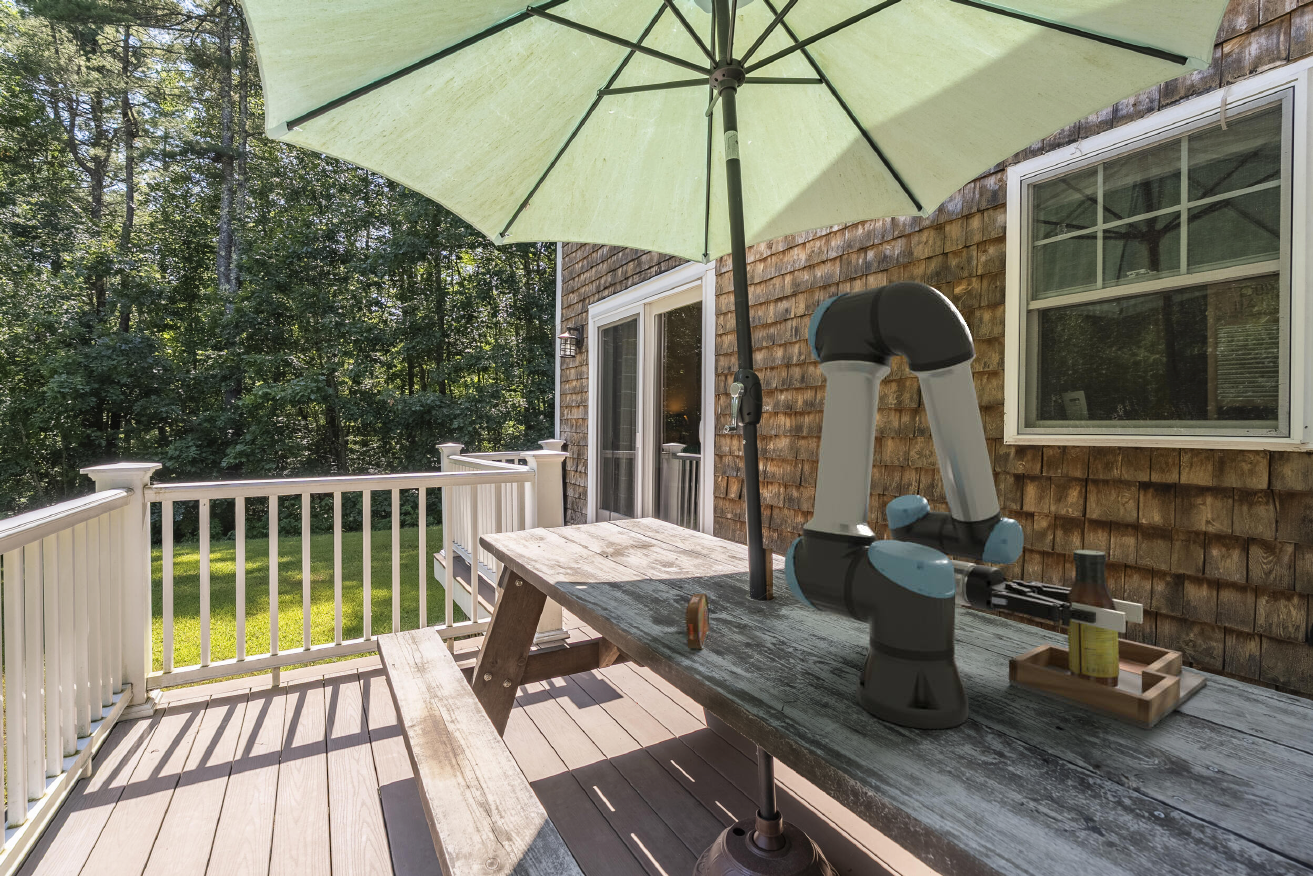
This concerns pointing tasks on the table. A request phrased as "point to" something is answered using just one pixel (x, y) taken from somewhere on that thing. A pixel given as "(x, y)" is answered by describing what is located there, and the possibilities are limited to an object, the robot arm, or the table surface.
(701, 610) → the tin
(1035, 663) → the keyhole guide
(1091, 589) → the sauce bottle
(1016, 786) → the table surface
